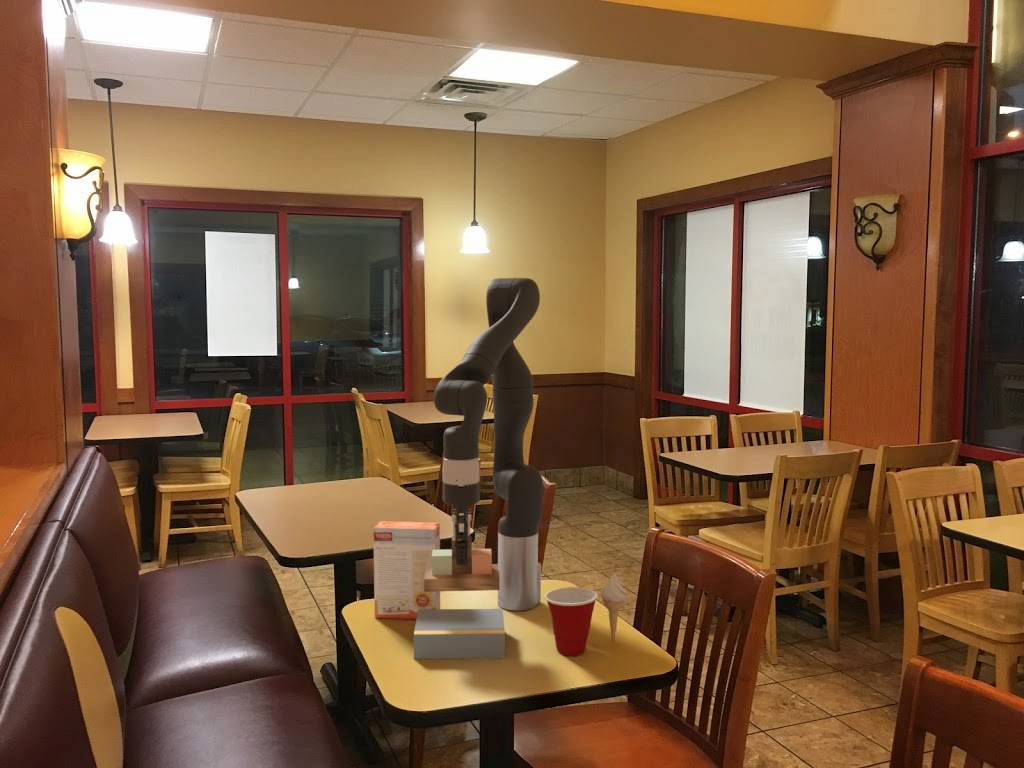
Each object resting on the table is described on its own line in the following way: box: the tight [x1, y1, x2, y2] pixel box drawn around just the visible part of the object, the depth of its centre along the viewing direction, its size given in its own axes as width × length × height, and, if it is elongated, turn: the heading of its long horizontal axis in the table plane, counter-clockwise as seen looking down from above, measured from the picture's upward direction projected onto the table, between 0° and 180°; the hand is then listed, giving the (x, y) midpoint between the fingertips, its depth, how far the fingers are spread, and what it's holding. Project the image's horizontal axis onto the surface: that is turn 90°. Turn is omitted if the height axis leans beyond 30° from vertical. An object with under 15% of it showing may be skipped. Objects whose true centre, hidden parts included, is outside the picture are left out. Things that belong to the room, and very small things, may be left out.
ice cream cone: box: [600, 572, 628, 642], centre depth 174 cm, size 6×6×15 cm
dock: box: [413, 608, 506, 660], centre depth 172 cm, size 18×13×5 cm
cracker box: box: [373, 520, 441, 620], centre depth 186 cm, size 14×6×21 cm, turn 84°
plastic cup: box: [544, 586, 599, 657], centre depth 170 cm, size 11×11×12 cm
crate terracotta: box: [472, 548, 493, 575], centre depth 170 cm, size 4×4×4 cm
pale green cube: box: [432, 548, 452, 575], centre depth 170 cm, size 4×4×4 cm
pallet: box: [424, 535, 500, 592], centre depth 170 cm, size 15×8×10 cm, turn 93°
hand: (462, 561), depth 170 cm, fingers closed on pallet, 3 cm apart
